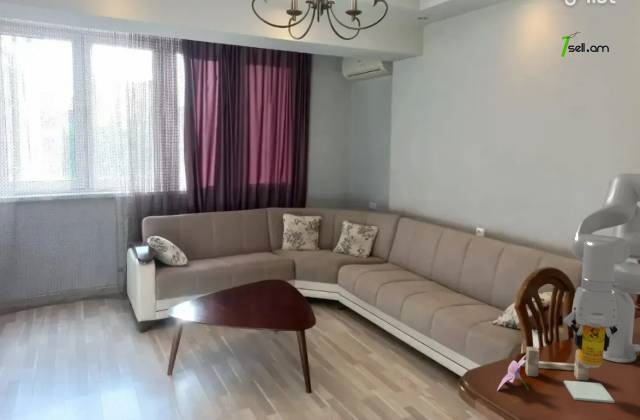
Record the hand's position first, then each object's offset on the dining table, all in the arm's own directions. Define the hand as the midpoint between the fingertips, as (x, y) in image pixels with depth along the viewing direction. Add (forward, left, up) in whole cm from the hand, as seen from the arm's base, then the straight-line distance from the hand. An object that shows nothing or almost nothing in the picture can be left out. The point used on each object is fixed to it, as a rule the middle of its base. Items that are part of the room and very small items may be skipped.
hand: (591, 347), depth 139 cm
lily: (+20, 0, -14) cm, 24 cm away
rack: (+6, -11, -13) cm, 19 cm away
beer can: (0, 0, -5) cm, 5 cm away
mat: (0, 0, -13) cm, 13 cm away
